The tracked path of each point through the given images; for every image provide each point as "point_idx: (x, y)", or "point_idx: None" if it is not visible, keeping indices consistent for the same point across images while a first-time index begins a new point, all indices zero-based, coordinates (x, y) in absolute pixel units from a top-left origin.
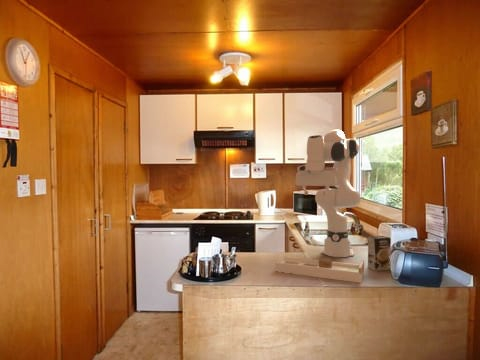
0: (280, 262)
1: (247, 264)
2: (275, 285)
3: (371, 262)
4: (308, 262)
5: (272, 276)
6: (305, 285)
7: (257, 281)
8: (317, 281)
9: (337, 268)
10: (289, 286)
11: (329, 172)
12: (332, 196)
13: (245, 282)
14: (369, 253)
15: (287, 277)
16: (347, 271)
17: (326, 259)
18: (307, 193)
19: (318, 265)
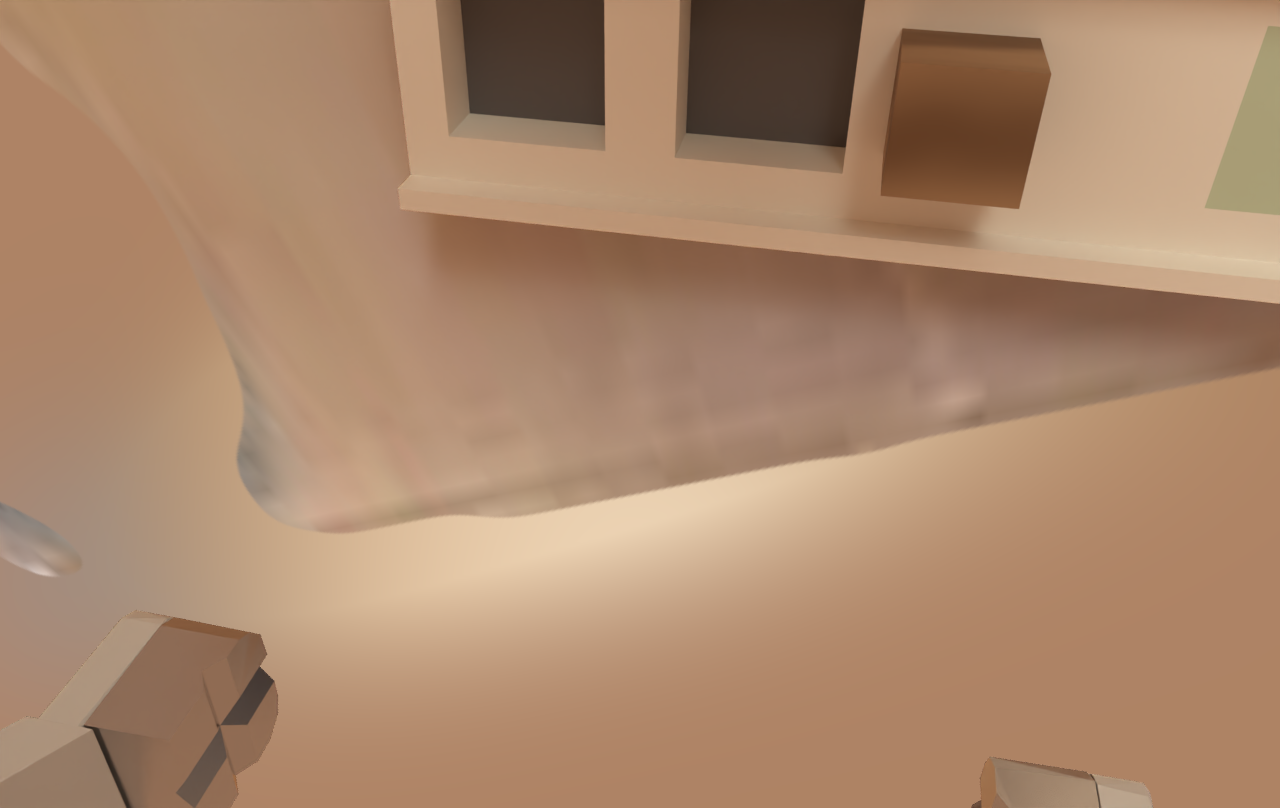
0: (399, 55)
1: (53, 12)
2: (574, 484)
3: None
4: None
5: (466, 305)
6: (794, 439)
7: (417, 439)
8: (885, 328)
9: (1115, 86)
10: (678, 482)
11: None
12: None
13: (353, 475)
14: None
15: (597, 296)
16: (1219, 295)
17: (976, 133)
18: (245, 732)
19: (864, 31)
